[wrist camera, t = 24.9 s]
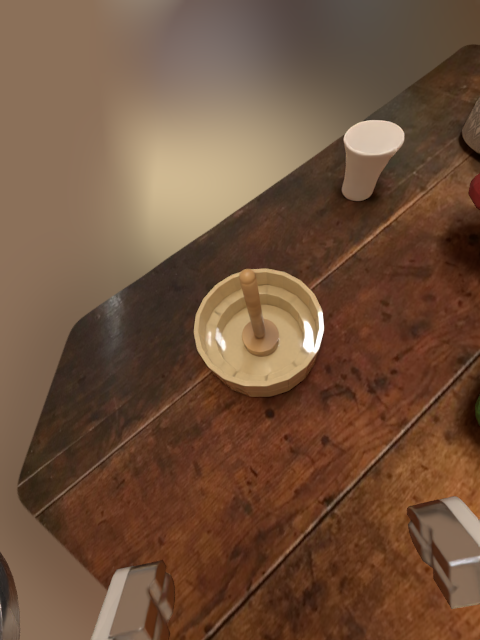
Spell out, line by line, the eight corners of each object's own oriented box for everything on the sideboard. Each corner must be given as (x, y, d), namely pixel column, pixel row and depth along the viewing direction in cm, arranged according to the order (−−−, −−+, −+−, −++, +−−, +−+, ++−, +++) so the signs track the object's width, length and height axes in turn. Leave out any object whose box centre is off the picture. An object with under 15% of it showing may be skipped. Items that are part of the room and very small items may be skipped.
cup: (354, 215, 47) (370, 161, 38) (324, 187, 52) (332, 132, 43) (396, 195, 48) (421, 137, 39) (363, 168, 52) (379, 111, 43)
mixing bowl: (274, 423, 34) (271, 417, 28) (187, 353, 40) (169, 336, 34) (339, 329, 38) (349, 305, 32) (251, 279, 45) (245, 251, 38)
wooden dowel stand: (265, 363, 37) (251, 306, 23) (236, 343, 39) (207, 279, 25) (286, 335, 39) (286, 264, 24) (257, 317, 41) (241, 242, 26)
